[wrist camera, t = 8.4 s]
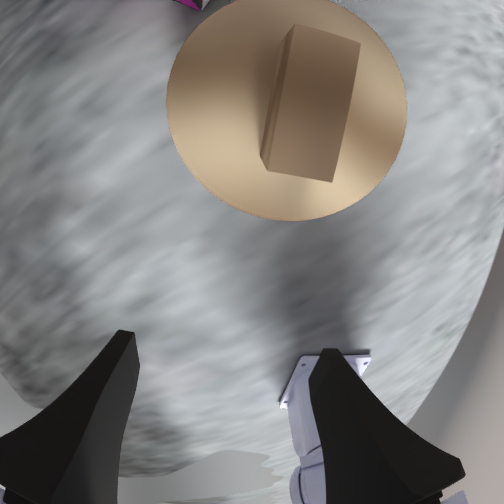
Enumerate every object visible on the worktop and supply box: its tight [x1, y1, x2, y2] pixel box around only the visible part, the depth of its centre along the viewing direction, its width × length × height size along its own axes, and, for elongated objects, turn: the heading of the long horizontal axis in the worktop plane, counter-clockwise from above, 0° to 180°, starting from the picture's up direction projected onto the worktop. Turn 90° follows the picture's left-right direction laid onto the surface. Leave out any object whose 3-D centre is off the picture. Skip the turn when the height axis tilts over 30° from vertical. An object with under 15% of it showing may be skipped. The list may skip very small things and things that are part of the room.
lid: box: [166, 0, 407, 221], centre depth 9 cm, size 10×10×4 cm
